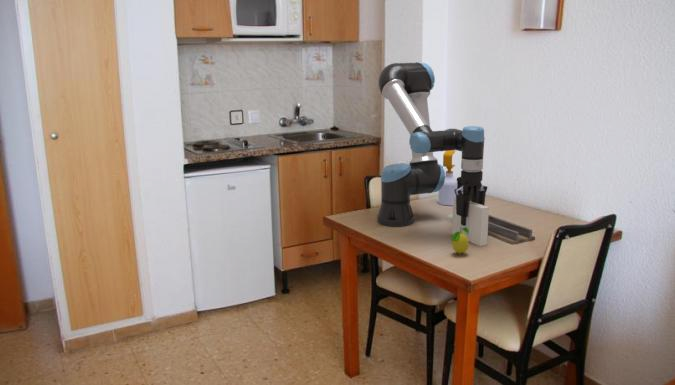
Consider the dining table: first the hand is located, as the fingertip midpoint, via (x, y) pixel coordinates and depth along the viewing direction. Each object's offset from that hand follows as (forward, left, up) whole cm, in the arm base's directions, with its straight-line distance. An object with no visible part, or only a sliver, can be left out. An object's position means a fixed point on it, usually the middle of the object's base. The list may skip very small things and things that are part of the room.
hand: (469, 232), depth 205 cm
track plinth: (+15, 0, -3) cm, 15 cm away
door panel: (0, 0, -3) cm, 3 cm away
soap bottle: (+26, +46, -3) cm, 53 cm away
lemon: (-13, -11, -3) cm, 17 cm away
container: (+14, +19, -3) cm, 24 cm away
